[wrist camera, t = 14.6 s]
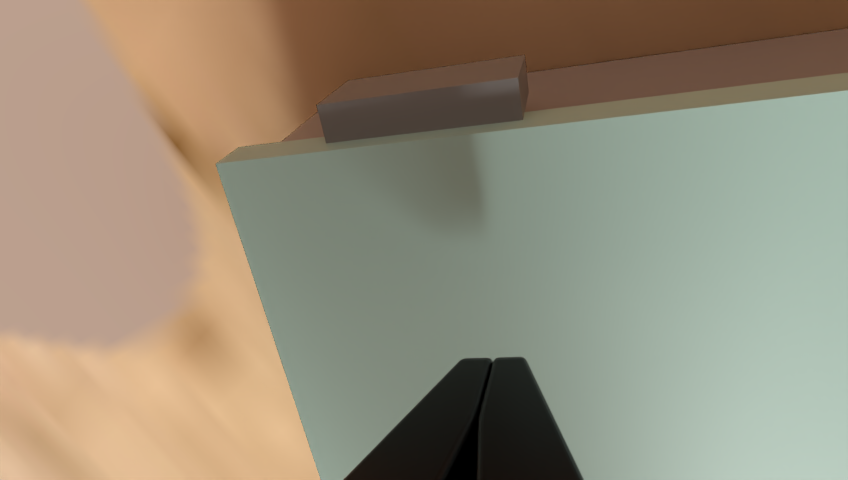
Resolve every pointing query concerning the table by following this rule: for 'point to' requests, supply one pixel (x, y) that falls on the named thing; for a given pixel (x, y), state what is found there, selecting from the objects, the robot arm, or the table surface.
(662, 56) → the cable duct
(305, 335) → the duct cover
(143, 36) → the table surface
